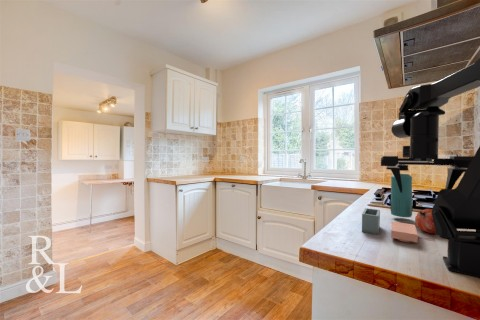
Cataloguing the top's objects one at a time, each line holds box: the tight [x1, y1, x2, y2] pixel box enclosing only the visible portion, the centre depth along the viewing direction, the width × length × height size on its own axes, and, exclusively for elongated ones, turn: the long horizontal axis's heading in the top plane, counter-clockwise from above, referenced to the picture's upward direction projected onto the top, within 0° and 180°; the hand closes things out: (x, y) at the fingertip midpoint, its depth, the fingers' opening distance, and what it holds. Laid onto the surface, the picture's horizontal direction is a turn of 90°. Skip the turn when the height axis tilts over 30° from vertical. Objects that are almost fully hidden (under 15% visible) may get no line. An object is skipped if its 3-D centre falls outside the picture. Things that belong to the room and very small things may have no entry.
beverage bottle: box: [389, 164, 414, 218], centre depth 80 cm, size 6×7×20 cm
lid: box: [390, 221, 419, 243], centre depth 62 cm, size 10×6×3 cm, turn 145°
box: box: [361, 207, 381, 236], centre depth 69 cm, size 9×4×6 cm, turn 145°
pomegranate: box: [414, 208, 437, 235], centre depth 66 cm, size 7×7×10 cm
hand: (422, 194), depth 58 cm, fingers open, 9 cm apart
